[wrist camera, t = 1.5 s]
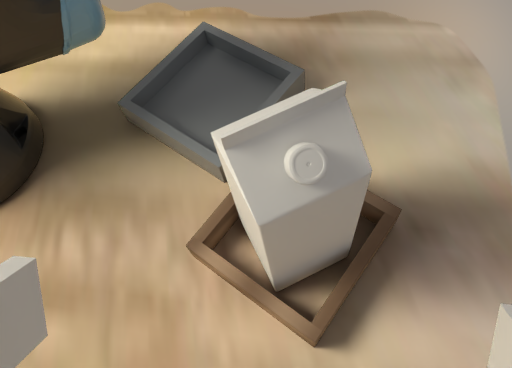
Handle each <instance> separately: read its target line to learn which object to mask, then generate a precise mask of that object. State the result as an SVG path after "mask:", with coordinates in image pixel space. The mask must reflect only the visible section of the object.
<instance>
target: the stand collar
mask: <svg viewBox="0 0 512 368" xmlns="http://www.w3.org/2000/svg"><path fill="white" fill-rule="evenodd" d="M401 210H402V209H400V208H398V207H396V206H394V205H393V204H391V203H389V202H387V201H386V200H384V199H382V198H380V197H379V196H377V195H375V194H373V193H371V192H370V191H368V190H367V191H366V195H365V198H364V202H363V205H362V209H361V212H360V215H362V216H363V217H365V218H367V219H368V220H370V221H372V222H373V223H375V224H377V225H376V226H375V228H374V229H373V231H372V232H371V234H370V235H369V237H368V238H367V240H366V241H365V243H364V244H363V246H362V247H361V249H360V250H359V252H358V253H357V255H356V256H355V258H354V259H353V261H352V262H351V264H350V265H349V267H348V268H347V270H346V271H345V273H344V274H343V276H342V277H341V279H340V280H339V282H338V283H337V285H336V286H335V288H334V289H333V291H332V292H331V294H330V295H329V297H328V298H327V300H326V301H325V303H324V304H323V306H322V307H321V309H320V310H319V312H318V313H317V315H316V316H315V318H314V319H313V321H312V322H309V321H308V320H307V319H305V318H304V317H303V316H301V315H300V314H298V313H297V312H296V311H294V310H293V309H292V308H290V307H289V306H288V305H286V304H285V303H283V302H282V301H281V300H279V299H278V298H277V297H275V296H274V295H273V294H271V293H270V292H268V291H267V290H266V289H264V288H263V287H262V286H260V285H259V284H258V283H256V282H255V281H253V280H252V279H251V278H249V277H248V276H247V275H245V274H244V273H242V272H241V271H240V270H238V269H237V268H236V267H234V266H233V265H232V264H230V263H229V262H227V261H226V260H225V259H223V258H222V257H221V256H219V255H218V254H217V253H215V252H214V251H212V250H213V249H214V248H215V246H216V245H217V244H218V243H219V241H220V240H221V239H222V238H223V236H224V235H225V234H226V233H227V232H228V230H229V229H230V228H231V227H232V225H233V224H234V223H235V222H236V220H237V219H238V218H239V217H240V216H239V213H238V211H237V208H236V205H235V202H234V199H233V196H232V193H231V192H230V193H229V195H228V196H227V197H226V198H225V199H224V200H223V202H222V203H221V204H220V205H219V206H218V208H217V209H216V210H215V211H214V212H213V214H212V215H211V216H210V217H209V218H208V219H207V221H206V222H205V223H204V224H203V225H202V227H201V228H200V229H199V230H198V231H197V233H196V234H195V235H194V236H193V237H192V238H191V240H190V241H189V242H188V243H187V244H186V247H187V248H188V249H189V251H190V252H191V253H192V255H193V256H194V257H195V258H196V259H198V260H199V261H200V262H202V263H203V264H204V265H206V266H207V267H208V268H210V269H211V270H212V271H214V272H215V273H216V274H217V275H219V276H220V277H221V278H223V279H224V280H225V281H227V282H228V283H229V284H231V285H232V286H233V287H235V288H236V289H237V290H239V291H240V292H241V293H243V294H244V295H245V296H247V297H248V298H249V299H251V300H252V301H253V302H255V303H256V304H257V305H258V306H260V307H261V308H262V309H264V310H265V311H266V312H268V313H269V314H270V315H272V316H273V317H274V318H276V319H277V320H278V321H280V322H281V323H282V324H284V325H285V326H286V327H288V328H289V329H290V330H292V331H293V332H294V333H296V334H297V335H298V336H299V337H301V338H302V339H303V340H305V341H306V342H307V343H309V344H310V345H311V346H313V347H315V345H316V344H317V342H318V341H319V339H320V338H321V336H322V335H323V333H324V332H325V330H326V329H327V327H328V325H329V324H330V322H331V321H332V319H333V318H334V316H335V315H336V313H337V312H338V310H339V309H340V307H341V306H342V304H343V302H344V301H345V299H346V298H347V296H348V295H349V293H350V292H351V290H352V289H353V287H354V286H355V284H356V283H357V281H358V279H359V278H360V276H361V275H362V273H363V272H364V270H365V269H366V267H367V266H368V264H369V263H370V261H371V259H372V258H373V256H374V255H375V253H376V252H377V250H378V249H379V247H380V246H381V244H382V243H383V241H384V240H385V238H386V236H387V235H388V233H389V232H390V230H391V229H392V227H393V226H394V224H395V222H396V220H397V218H398V216H399V214H400V212H401Z"/></svg>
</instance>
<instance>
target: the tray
mask: <svg viewBox="0 0 512 368" xmlns="http://www.w3.org/2000/svg"><path fill="white" fill-rule="evenodd" d="M304 89H305V70H304V69H302V68H300V67H297V66H295V65H293V64H291V63H289V62H287V61H285V60H283V59H281V58H279V57H277V56H274V55H272V54H270V53H268V52H266V51H264V50H262V49H260V48H258V47H256V46H254V45H251V44H249V43H247V42H245V41H243V40H241V39H239V38H237V37H235V36H233V35H231V34H228V33H226V32H224V31H222V30H220V29H218V28H216V27H214V26H212V25H210V24H207V23H205V22H202V23H201V24H200V25H199V26H198V27H197V28H196V29H195V30H194V31H193V32H192V33H191V34H190V35H188V36H187V37H186V38H185V39H184V40H183V41H182V42H181V43H180V44H179V45H178V46H177V47H176V48H175V49H174V50H173V51H172V52H171V53H169V54H168V55H167V56H166V57H165V58H164V59H163V60H162V61H161V62H160V63H159V64H158V65H157V66H156V67H155V68H154V69H153V70H152V71H150V72H149V73H148V74H147V75H146V76H145V77H144V78H143V79H142V80H141V81H140V82H139V83H138V84H137V85H136V86H135V87H134V88H132V89H131V90H130V91H129V92H128V93H127V94H126V95H125V96H124V97H123V98H122V99H121V100H120V101H119V102H118V105H119V107H120V108H121V110H122V112H123V113H124V115H125V116H126V118H127V120H128V121H130V122H131V123H133V124H135V125H136V126H138V127H139V128H141V129H142V130H144V131H145V132H147V133H148V134H150V135H151V136H153V137H155V138H156V139H158V140H159V141H161V142H162V143H164V144H165V145H167V146H168V147H170V148H172V149H173V150H175V151H176V152H178V153H179V154H181V155H182V156H184V157H185V158H187V159H189V160H190V161H192V162H193V163H195V164H196V165H198V166H199V167H201V168H202V169H204V170H206V171H207V172H209V173H210V174H212V175H213V176H215V177H216V178H218V179H219V180H221V181H223V182H224V183H225V182H226V180H227V179H226V176H225V173H224V170H223V167H222V164H221V162H220V159H219V156H218V153H217V150H216V147H215V144H214V141H213V138H212V136H211V132H213V131H215V130H217V129H220V128H222V127H224V126H226V125H229V124H231V123H233V122H235V121H238V120H240V119H242V118H244V117H247V116H249V115H251V114H253V113H256V112H258V111H260V110H262V109H265V108H267V107H269V106H272V105H274V104H276V103H278V102H281V101H283V100H285V99H287V98H290V97H292V96H294V95H296V94H299V93H301V92H303V91H304Z"/></svg>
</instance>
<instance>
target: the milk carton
mask: <svg viewBox="0 0 512 368" xmlns="http://www.w3.org/2000/svg"><path fill="white" fill-rule="evenodd" d="M346 85H347V82H346V81H345V80H343V81H341V82H339V83H337V84H334V85H332V86H330V87H328V88H325V89H323V90H322V89H316V88H310V89H308V90H306V91H303V92H301V93H299V94H296V95H294V96H292V97H290V98H287V99H285V100H283V101H281V102H278V103H276V104H274V105H272V106H269V107H267V108H265V109H262V110H260V111H258V112H256V113H253V114H251V115H249V116H247V117H244V118H242V119H240V120H238V121H235V122H233V123H231V124H229V125H226V126H224V127H222V128H220V129H217V130H215V131H213V132H211V136H212V138H213V141H214V144H215V147H216V150H217V153H218V156H219V159H220V162H221V164H222V167H223V170H224V173H225V176H226V179H227V182H228V185H229V187H230V190H231V193H232V196H233V199H234V202H235V205H236V208H237V211H238V213H239V216H240V219H241V222H242V225H243V227H244V229H245V231H246V233H247V235H248V237H249V239H250V241H251V243H252V245H253V247H254V249H255V251H256V253H257V255H258V257H259V259H260V261H261V263H262V265H263V267H264V269H265V271H266V273H267V275H268V277H269V279H270V281H271V283H272V286H273V288H274V290H275V291H276V292H277V291H280V290H282V289H284V288H286V287H288V286H290V285H292V284H294V283H296V282H298V281H300V280H302V279H304V278H306V277H308V276H310V275H312V274H314V273H316V272H318V271H320V270H322V269H324V268H326V267H328V266H330V265H332V264H334V263H336V262H338V261H340V260H342V259H344V258H346V257H347V256H348V254H349V251H350V248H351V244H352V241H353V237H354V233H355V230H356V226H357V223H358V219H359V216H360V212H361V209H362V205H363V202H364V198H365V195H366V191H367V188H368V184H369V181H370V177H371V173H372V168H371V165H370V163H369V160H368V157H367V154H366V152H365V149H364V146H363V143H362V140H361V138H360V135H359V132H358V129H357V127H356V124H355V121H354V118H353V116H352V113H351V110H350V107H349V104H348V102H347V99H346V96H345V93H346Z"/></svg>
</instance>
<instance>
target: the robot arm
mask: <svg viewBox="0 0 512 368" xmlns="http://www.w3.org/2000/svg"><path fill="white" fill-rule="evenodd" d="M104 28H105V15H104V11H103V8H102V5H101V2H100V0H0V74H1V73H5V72H8V71H11V70H14V69H17V68H20V67H23V66H26V65H30V64H33V63H36V62H39V61H42V60H45V59H48V58H52V57H55V56H58V55H61V54H63V55H65V54H67V53H69V52H70V50H72V49H74V48H76V47H79V46H81V45H84V44H86V43H89V42H91V41H94V40H96V39H97V38H98V37H99V36H100V35H101V34H102V32H103V30H104ZM42 147H43V130H42V126H41V123H40V121H39V119H38V118H37V116H36V115H35V114H34V113H33V112H32V111H31V110H30V109H29V108H28V106H27V105H26V104H25V103H24V102H23V101H21V100H20V99H19V98H17V97H16V96H14V95H12V94H10V93H9V92H7V91H5V90H3V89H1V88H0V203H1V202H2V201H4V200H5V199H7V198H8V197H9V196H10V195H12V194H13V193H14V192H15V191H16V190H17V189H18V188H19V187H20V186H21V185H22V184H23V183H24V182H25V181H26V179H27V178H28V177H29V175H30V174H31V173H32V171H33V169H34V168H35V166H36V164H37V162H38V160H39V157H40V154H41V151H42ZM47 335H48V334H47V328H46V321H45V315H44V308H43V302H42V295H41V289H40V282H39V276H38V269H37V263H36V258H30V257H20V256H12V257H11V258H9V259H7V260H6V261H4V262H3V263H1V264H0V368H15V367H16V366H17V365H18V364H19V363H20V362H21V361H22V360H23V359H24V358H25V357H26V356H27V355H28V354H29V353H30V352H31V351H32V350H33V349H34V348H35V347H36V346H37V345H38V344H39V343H40V342H41V341H42V340H43V339H44V338H45V337H46V336H47ZM487 368H512V304H501V303H500V308H499V312H498V317H497V322H496V327H495V332H494V336H493V341H492V346H491V351H490V355H489V360H488V365H487Z"/></svg>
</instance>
